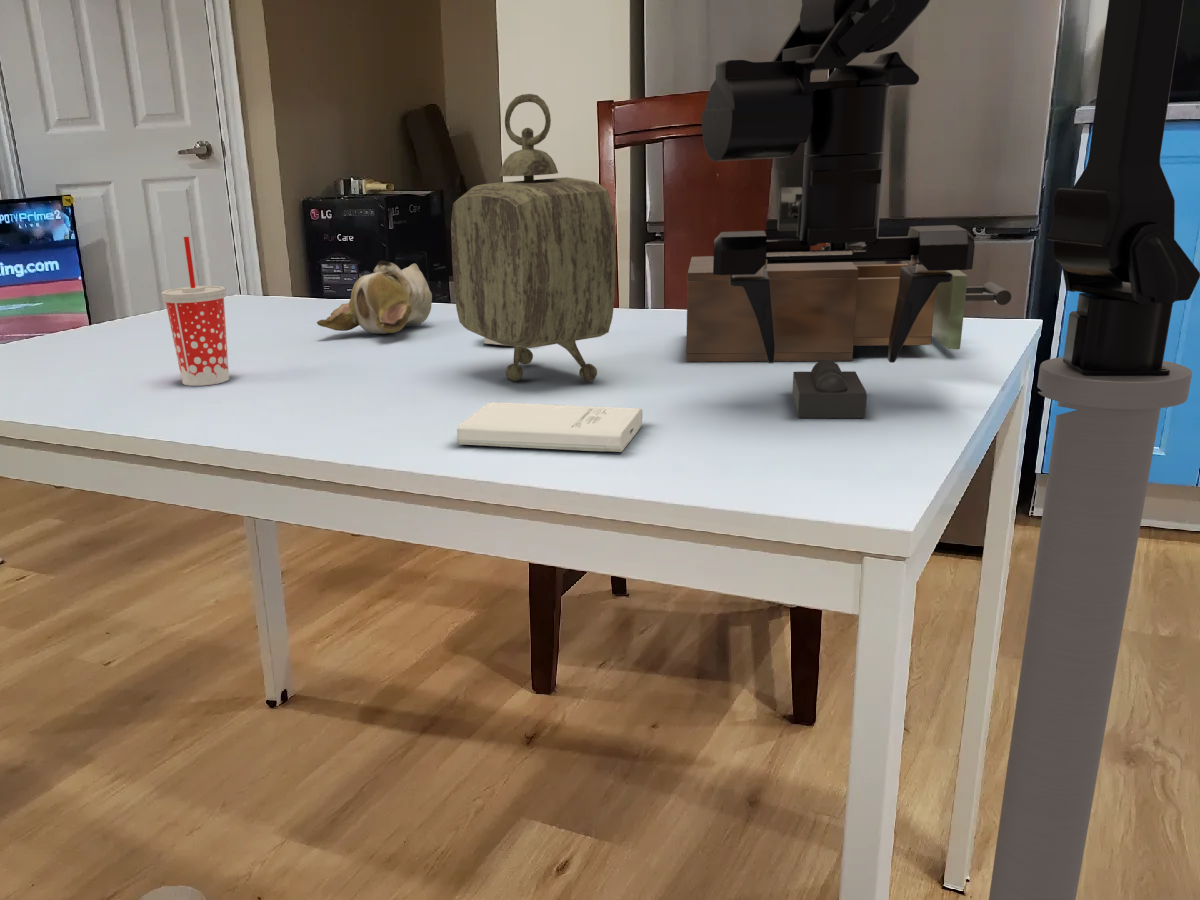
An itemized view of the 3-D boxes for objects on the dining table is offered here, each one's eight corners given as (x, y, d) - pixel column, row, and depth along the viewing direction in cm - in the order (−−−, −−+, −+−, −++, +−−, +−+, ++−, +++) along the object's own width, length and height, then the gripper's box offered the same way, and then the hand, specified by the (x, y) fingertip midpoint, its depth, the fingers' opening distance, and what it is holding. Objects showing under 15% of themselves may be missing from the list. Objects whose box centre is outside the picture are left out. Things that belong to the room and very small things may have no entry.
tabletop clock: (616, 382, 100) (615, 88, 91) (533, 398, 96) (524, 90, 87) (529, 360, 112) (521, 97, 103) (452, 373, 108) (437, 100, 99)
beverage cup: (249, 376, 111) (231, 233, 106) (208, 389, 106) (188, 240, 101) (203, 372, 114) (184, 233, 109) (161, 385, 109) (139, 240, 104)
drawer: (985, 326, 113) (992, 258, 111) (1014, 349, 102) (1023, 274, 99) (792, 328, 117) (795, 263, 115) (799, 350, 106) (803, 278, 103)
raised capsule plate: (792, 394, 93) (794, 357, 92) (854, 394, 92) (856, 356, 90) (797, 418, 85) (800, 377, 84) (865, 418, 84) (868, 377, 83)
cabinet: (838, 335, 117) (844, 252, 114) (852, 360, 104) (858, 268, 101) (690, 337, 120) (691, 256, 117) (685, 361, 108) (687, 272, 105)
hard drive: (491, 420, 89) (642, 425, 85) (457, 447, 82) (620, 454, 78) (490, 400, 89) (642, 405, 85) (456, 425, 82) (620, 432, 78)
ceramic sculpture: (450, 250, 132) (381, 273, 121) (457, 321, 136) (390, 351, 124) (378, 250, 138) (305, 272, 126) (386, 319, 141) (316, 347, 129)
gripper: (956, 146, 87) (936, 342, 93) (716, 157, 91) (711, 344, 97) (986, 150, 77) (963, 369, 82) (716, 161, 81) (710, 370, 86)
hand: (830, 361), depth 87 cm, fingers open, 9 cm apart
